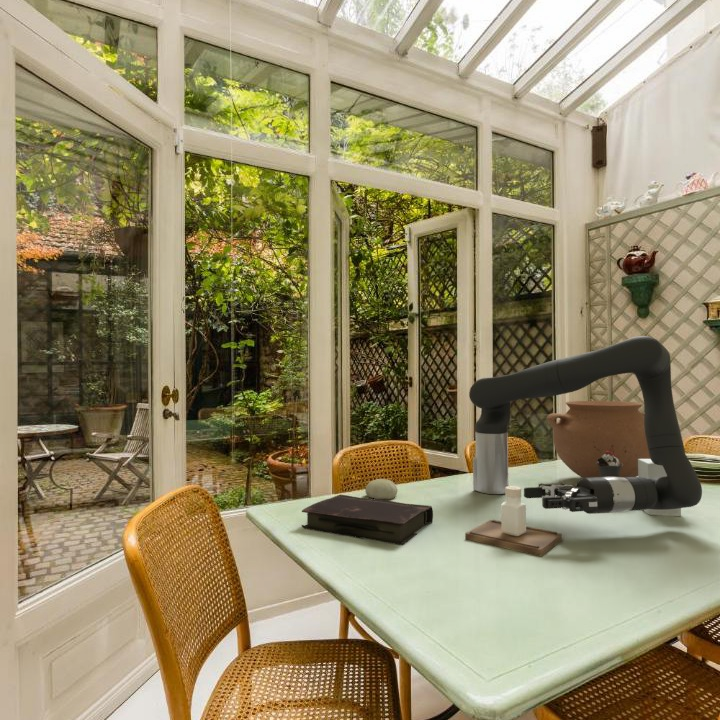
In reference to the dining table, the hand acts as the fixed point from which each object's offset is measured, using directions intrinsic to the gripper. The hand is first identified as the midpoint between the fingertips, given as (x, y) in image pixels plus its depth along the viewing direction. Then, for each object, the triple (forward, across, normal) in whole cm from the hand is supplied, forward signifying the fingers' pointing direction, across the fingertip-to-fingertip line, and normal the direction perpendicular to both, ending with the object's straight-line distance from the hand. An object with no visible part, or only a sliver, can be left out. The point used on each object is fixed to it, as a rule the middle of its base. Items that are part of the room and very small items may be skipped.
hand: (533, 497), depth 107 cm
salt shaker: (+4, 0, +8) cm, 9 cm away
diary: (+34, -14, +9) cm, 37 cm away
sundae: (-34, -25, +9) cm, 43 cm away
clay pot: (-46, -46, +9) cm, 65 cm away
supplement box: (-40, -14, +9) cm, 43 cm away
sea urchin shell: (+26, -40, +9) cm, 49 cm away
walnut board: (+5, 0, +8) cm, 10 cm away
